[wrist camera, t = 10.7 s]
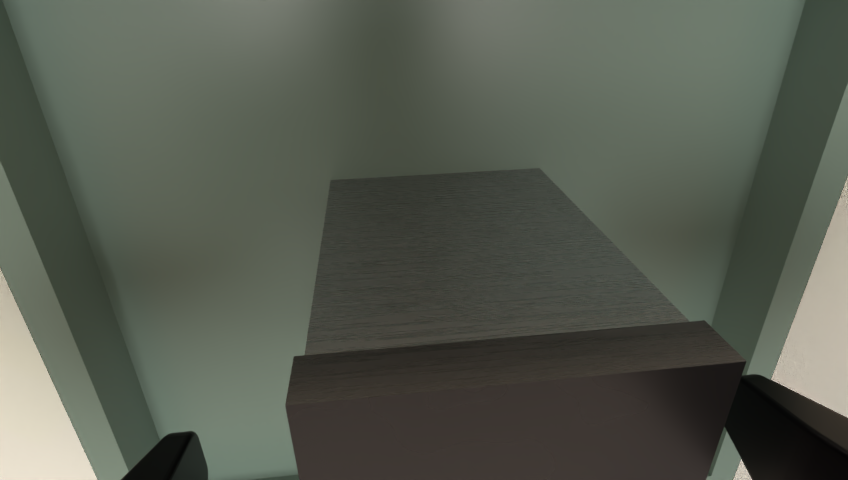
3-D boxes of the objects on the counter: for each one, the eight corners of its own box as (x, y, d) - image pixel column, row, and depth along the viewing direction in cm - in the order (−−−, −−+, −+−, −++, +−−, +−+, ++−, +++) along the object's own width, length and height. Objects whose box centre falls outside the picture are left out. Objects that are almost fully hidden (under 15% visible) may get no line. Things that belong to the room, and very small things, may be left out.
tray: (839, -102, 11) (960, -124, 9) (684, 428, 18) (728, 490, 16) (-51, -95, 9) (-177, -119, 7) (165, 485, 17) (135, 562, 14)
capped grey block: (544, 163, 12) (745, 360, 6) (528, 337, 15) (660, 613, 8) (325, 176, 12) (285, 405, 5) (345, 353, 14) (334, 660, 8)
